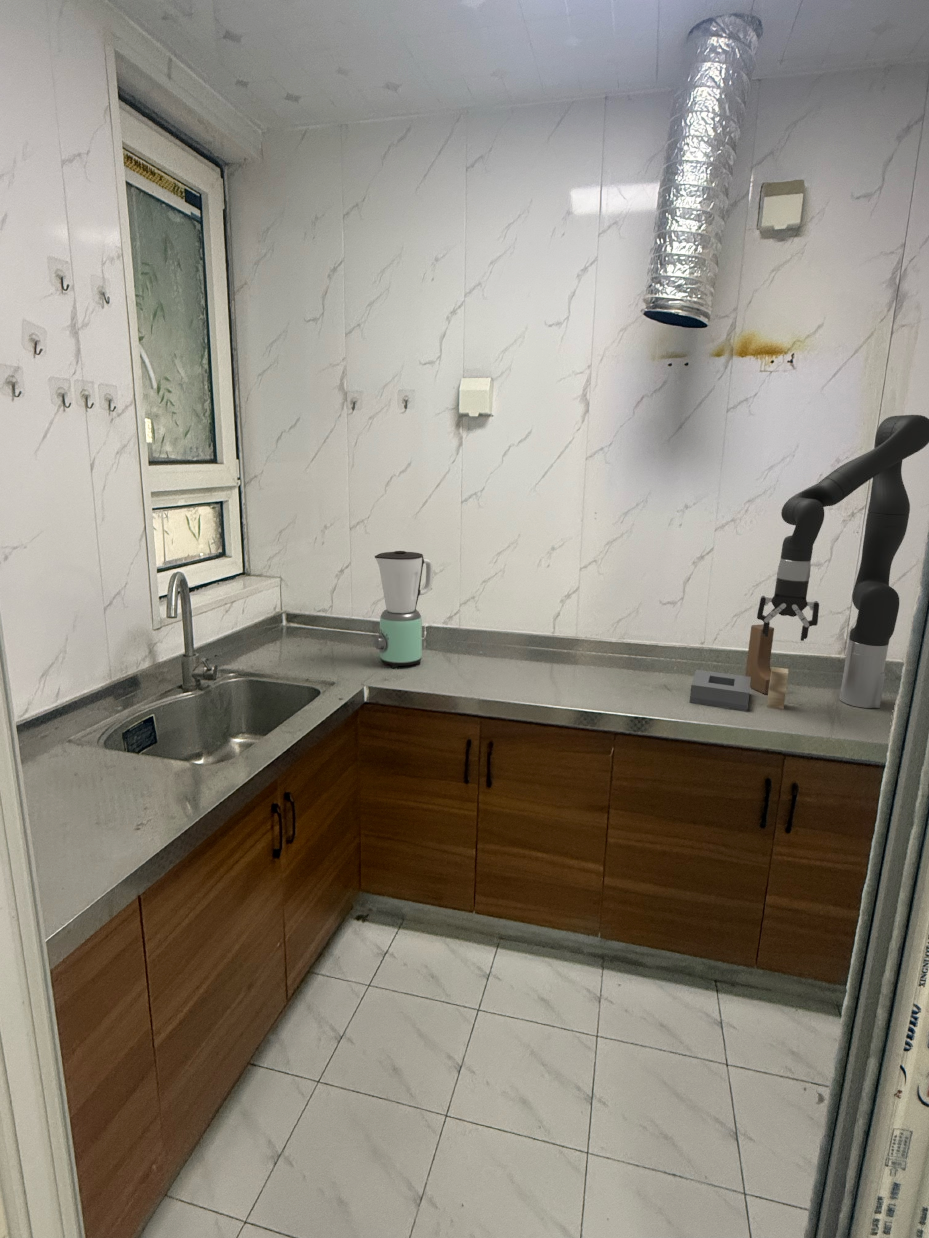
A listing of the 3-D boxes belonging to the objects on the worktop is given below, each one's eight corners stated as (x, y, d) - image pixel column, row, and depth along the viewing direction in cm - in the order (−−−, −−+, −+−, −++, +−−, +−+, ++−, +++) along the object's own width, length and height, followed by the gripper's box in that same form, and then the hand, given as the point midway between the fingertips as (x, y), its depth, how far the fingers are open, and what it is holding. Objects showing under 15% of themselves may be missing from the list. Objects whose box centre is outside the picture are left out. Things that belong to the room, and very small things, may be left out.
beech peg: (783, 704, 184) (788, 669, 181) (783, 709, 180) (788, 673, 178) (767, 702, 185) (771, 666, 183) (767, 706, 182) (771, 671, 179)
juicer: (386, 672, 203) (385, 556, 195) (367, 661, 214) (365, 550, 206) (440, 663, 213) (442, 552, 205) (420, 652, 224) (420, 546, 216)
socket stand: (748, 693, 191) (750, 676, 190) (747, 711, 178) (749, 693, 177) (694, 686, 197) (696, 669, 195) (689, 702, 184) (691, 684, 183)
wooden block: (778, 693, 192) (786, 631, 188) (764, 694, 191) (772, 632, 186) (756, 683, 200) (764, 623, 196) (743, 684, 199) (750, 624, 195)
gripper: (823, 577, 175) (813, 638, 179) (763, 572, 180) (754, 631, 184) (825, 582, 168) (815, 645, 172) (762, 576, 174) (754, 637, 178)
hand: (783, 638), depth 178 cm, fingers open, 8 cm apart
